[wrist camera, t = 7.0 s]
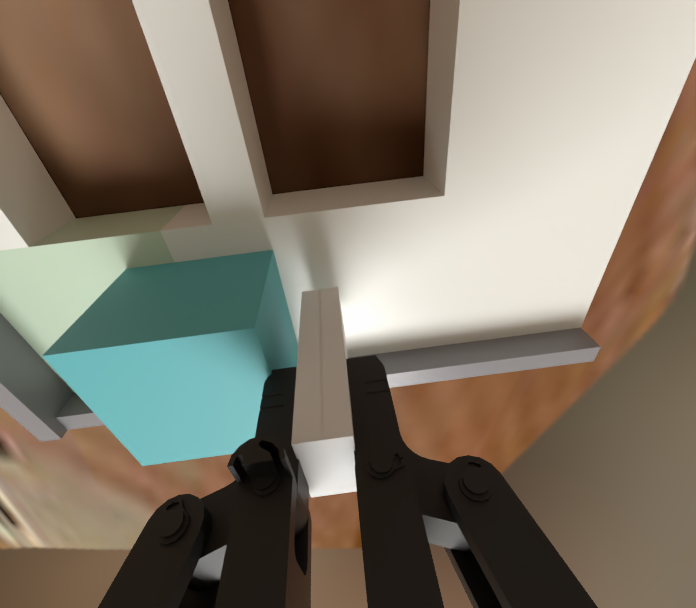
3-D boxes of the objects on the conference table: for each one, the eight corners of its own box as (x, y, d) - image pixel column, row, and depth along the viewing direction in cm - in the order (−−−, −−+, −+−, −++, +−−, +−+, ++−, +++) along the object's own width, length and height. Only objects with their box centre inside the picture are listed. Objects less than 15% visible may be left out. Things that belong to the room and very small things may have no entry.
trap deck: (-243, -62, 9) (-666, -165, 5) (696, -165, 10) (968, -335, 6) (96, 366, 20) (40, 441, 16) (543, 309, 20) (600, 368, 16)
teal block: (126, 268, 13) (41, 356, 9) (273, 249, 13) (254, 328, 9) (184, 370, 17) (142, 465, 13) (300, 354, 17) (296, 445, 13)
